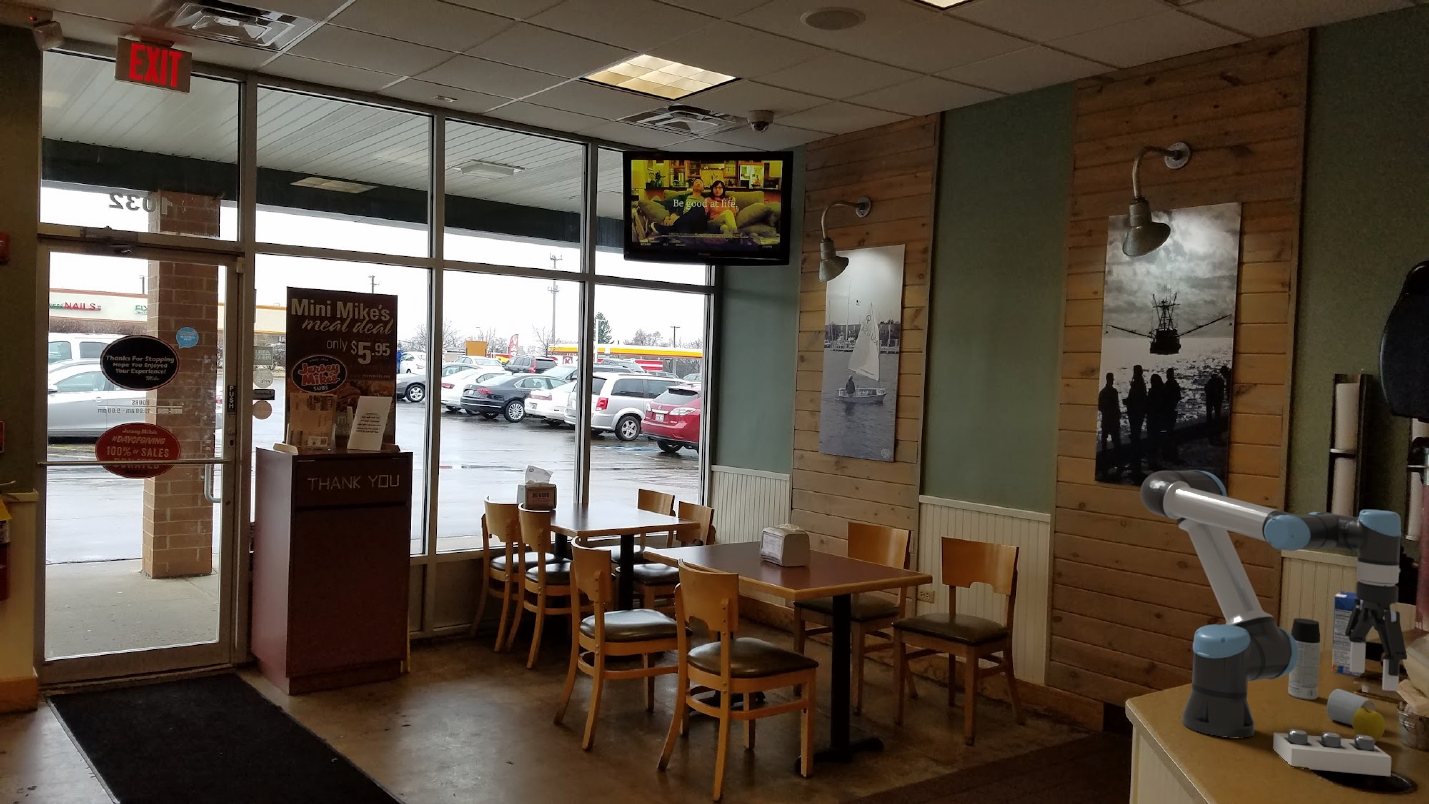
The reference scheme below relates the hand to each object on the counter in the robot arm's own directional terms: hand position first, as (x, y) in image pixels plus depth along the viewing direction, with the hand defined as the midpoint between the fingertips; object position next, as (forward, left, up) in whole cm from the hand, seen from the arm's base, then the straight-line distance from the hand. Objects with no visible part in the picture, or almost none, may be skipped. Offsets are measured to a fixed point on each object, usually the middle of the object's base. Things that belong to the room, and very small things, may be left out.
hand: (1373, 681), depth 214 cm
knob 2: (-3, -3, -15) cm, 16 cm away
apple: (+6, +15, -18) cm, 24 cm away
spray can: (+5, +49, -18) cm, 52 cm away
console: (-9, -3, -18) cm, 20 cm away
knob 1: (-16, -3, -15) cm, 22 cm away
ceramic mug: (+8, +28, -18) cm, 34 cm away
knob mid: (-9, -3, -15) cm, 18 cm away
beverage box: (+29, +81, -18) cm, 88 cm away
